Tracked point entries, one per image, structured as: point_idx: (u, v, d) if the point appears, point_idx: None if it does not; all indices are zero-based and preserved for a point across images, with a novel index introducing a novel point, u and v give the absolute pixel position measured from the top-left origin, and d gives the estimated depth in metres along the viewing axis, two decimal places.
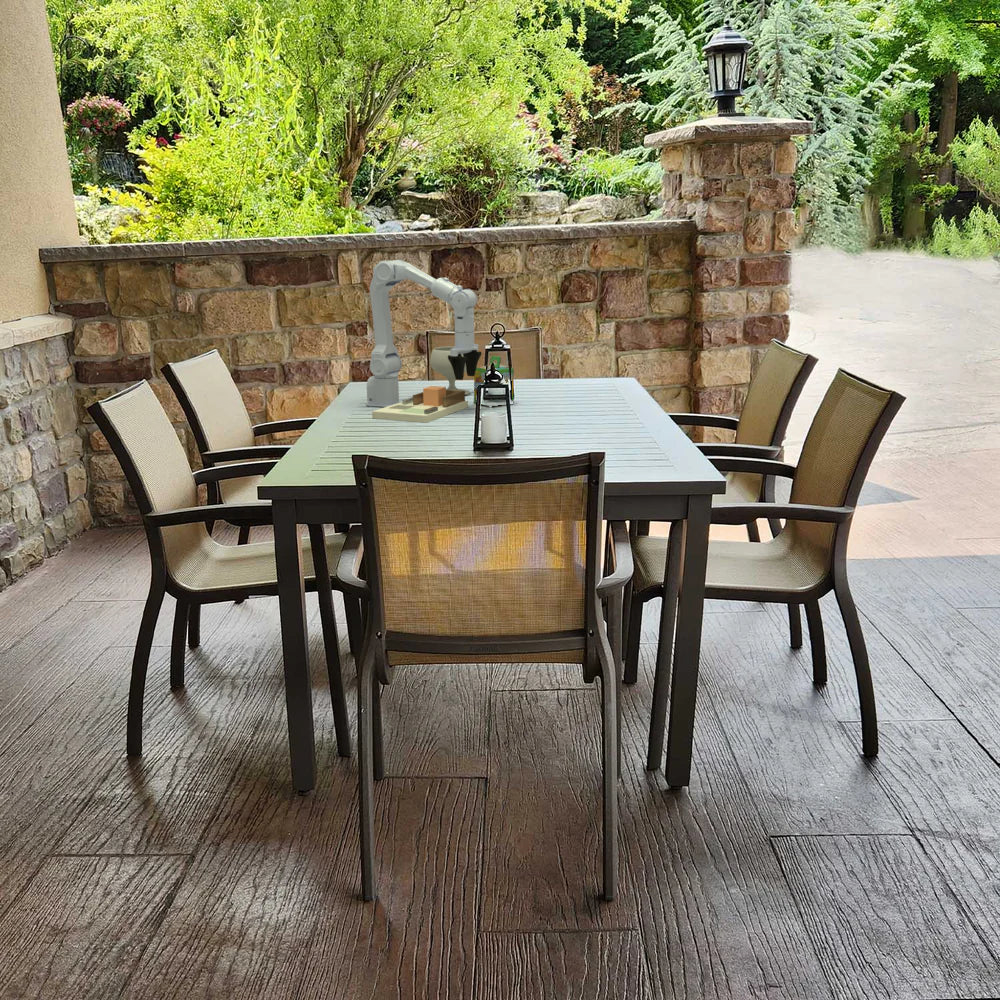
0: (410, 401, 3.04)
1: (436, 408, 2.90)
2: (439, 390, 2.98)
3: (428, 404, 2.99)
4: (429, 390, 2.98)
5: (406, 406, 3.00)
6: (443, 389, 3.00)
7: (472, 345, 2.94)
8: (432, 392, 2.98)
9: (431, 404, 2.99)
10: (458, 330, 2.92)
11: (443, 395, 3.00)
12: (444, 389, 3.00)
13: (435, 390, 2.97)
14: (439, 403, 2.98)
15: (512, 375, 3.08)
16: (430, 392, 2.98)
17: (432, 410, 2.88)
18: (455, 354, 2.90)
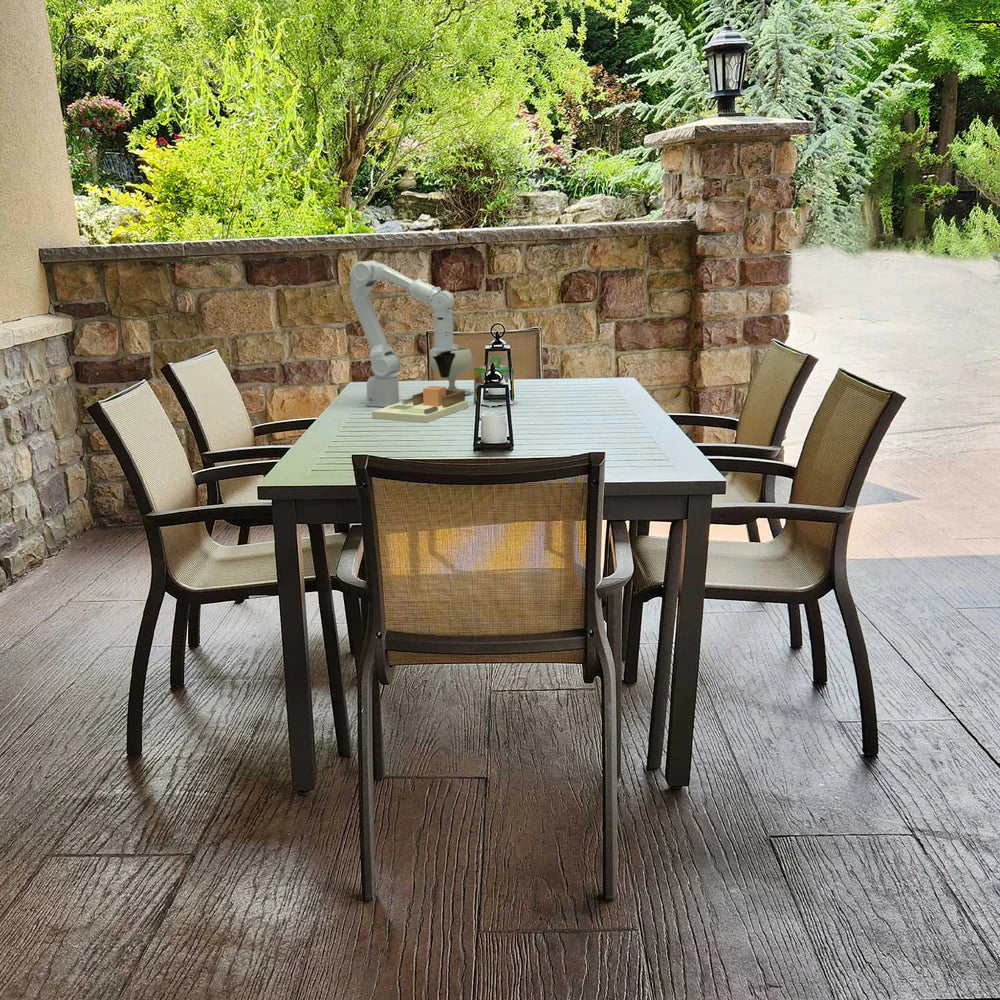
0: (410, 401, 3.04)
1: (436, 408, 2.90)
2: (439, 390, 2.98)
3: (428, 404, 2.99)
4: (429, 390, 2.98)
5: (406, 406, 3.00)
6: (443, 389, 3.00)
7: (451, 345, 3.01)
8: (432, 392, 2.98)
9: (431, 404, 2.99)
10: (438, 331, 2.99)
11: (443, 395, 3.00)
12: (444, 389, 3.00)
13: (435, 390, 2.97)
14: (439, 403, 2.98)
15: (512, 376, 3.08)
16: (430, 392, 2.98)
17: (432, 410, 2.88)
18: (434, 354, 2.96)
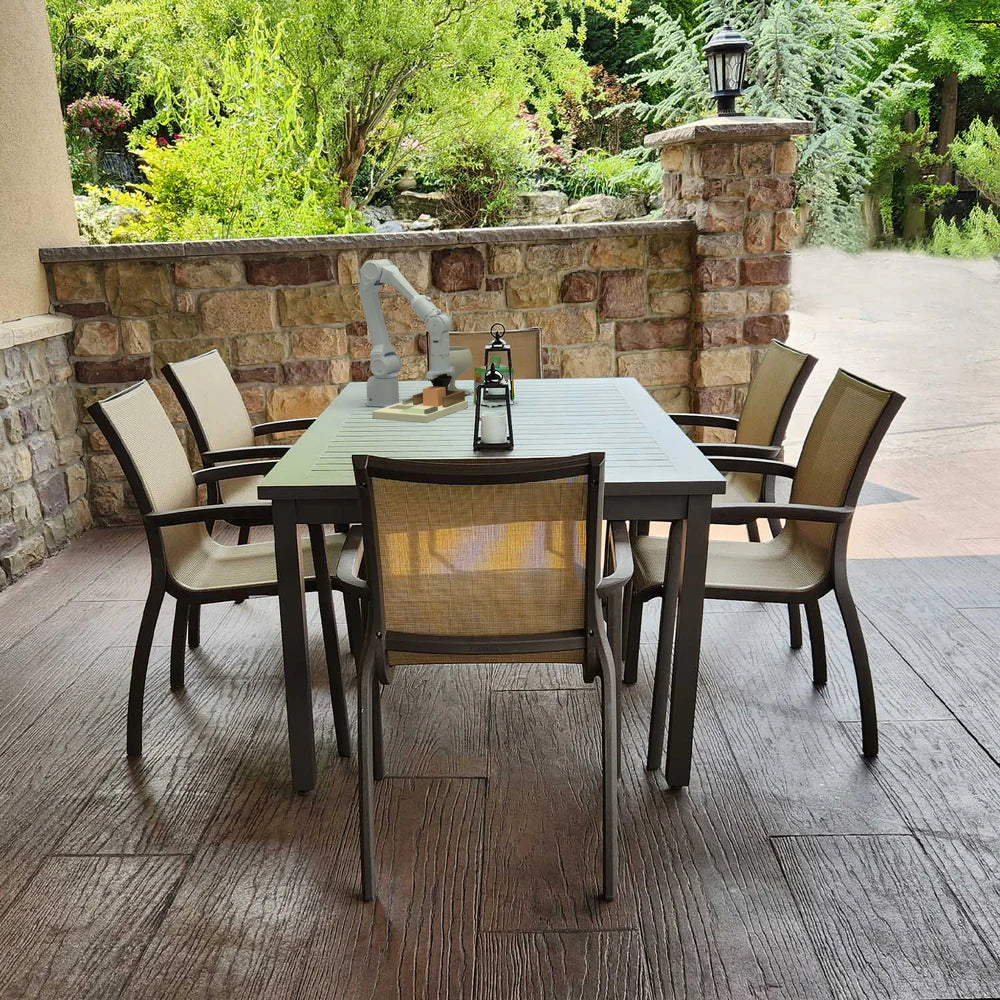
0: (410, 401, 3.04)
1: (436, 408, 2.90)
2: (439, 390, 2.97)
3: (428, 404, 2.99)
4: (429, 390, 2.98)
5: (406, 406, 3.00)
6: (443, 389, 2.99)
7: (448, 368, 3.00)
8: (432, 392, 2.97)
9: (431, 404, 2.98)
10: (434, 354, 2.98)
11: (443, 395, 3.00)
12: (444, 389, 3.00)
13: (435, 390, 2.97)
14: (438, 403, 2.98)
15: (512, 376, 3.08)
16: (430, 392, 2.98)
17: (432, 410, 2.88)
18: (431, 377, 2.96)
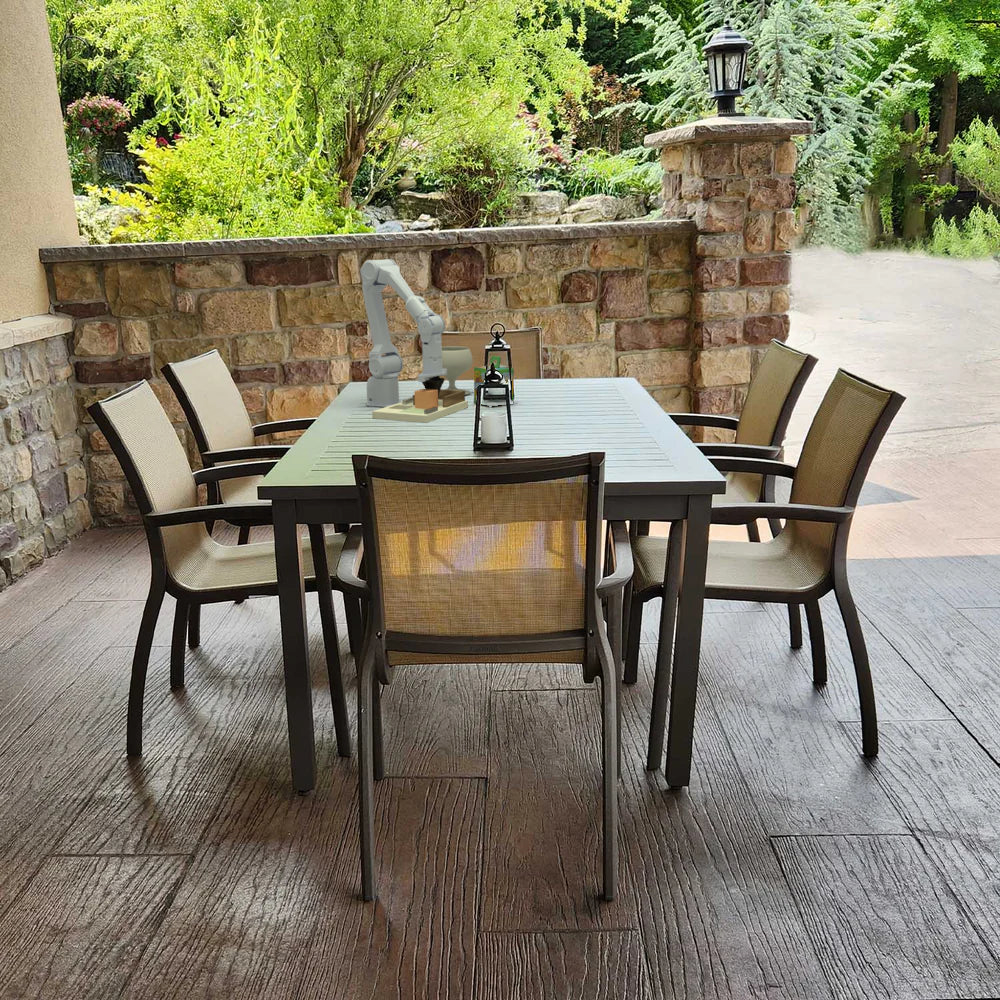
0: (410, 401, 3.04)
1: (436, 408, 2.90)
2: (431, 393, 2.93)
3: (420, 407, 2.95)
4: (421, 393, 2.93)
5: (406, 406, 3.00)
6: (435, 392, 2.95)
7: (440, 370, 2.96)
8: (424, 395, 2.93)
9: (423, 407, 2.94)
10: (424, 355, 2.95)
11: (435, 398, 2.96)
12: (436, 392, 2.96)
13: (427, 393, 2.92)
14: (430, 405, 2.94)
15: (512, 376, 3.08)
16: (422, 395, 2.93)
17: (432, 410, 2.88)
18: (423, 380, 2.92)
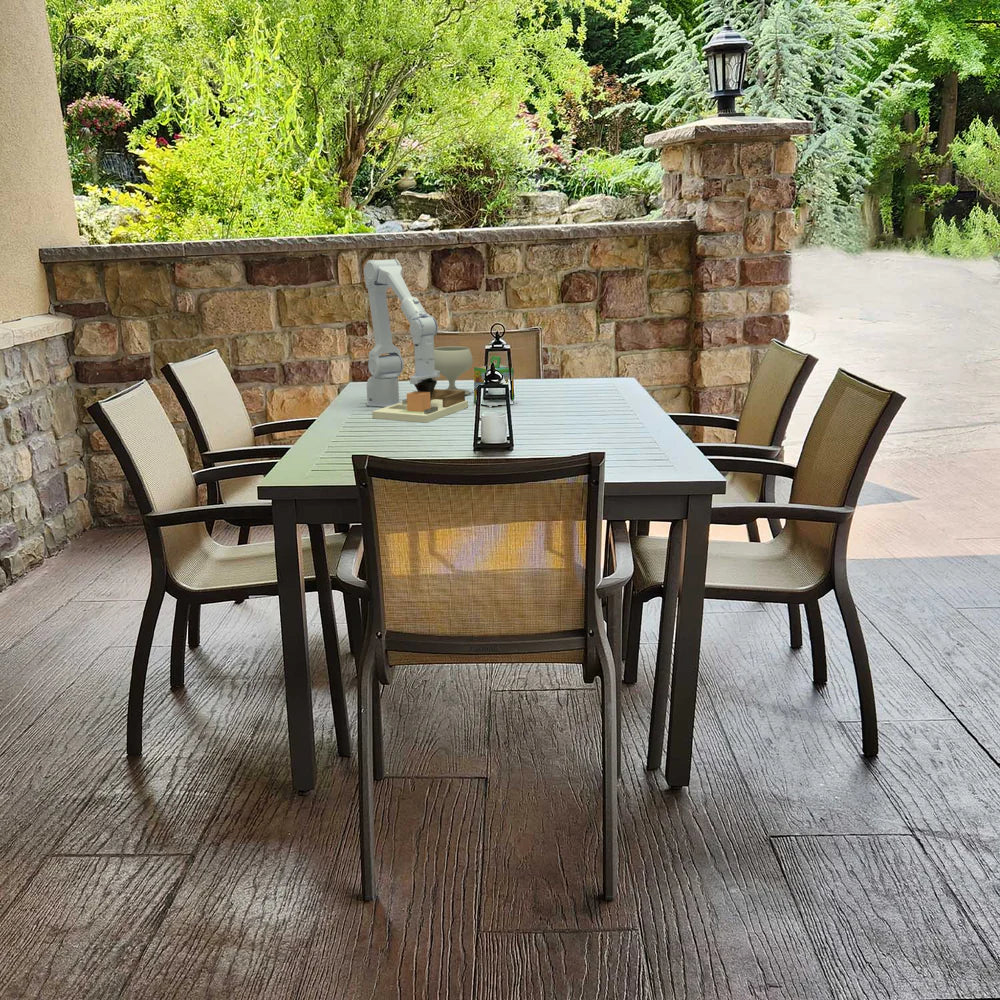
0: None
1: (436, 408, 2.90)
2: (423, 395, 2.89)
3: (412, 410, 2.91)
4: (413, 395, 2.89)
5: (406, 406, 3.00)
6: (427, 394, 2.91)
7: (432, 372, 2.92)
8: (416, 397, 2.89)
9: (415, 410, 2.90)
10: (415, 357, 2.91)
11: (427, 400, 2.92)
12: (428, 394, 2.92)
13: (419, 395, 2.88)
14: (423, 408, 2.90)
15: (512, 376, 3.08)
16: (414, 397, 2.89)
17: (432, 410, 2.88)
18: (415, 382, 2.87)
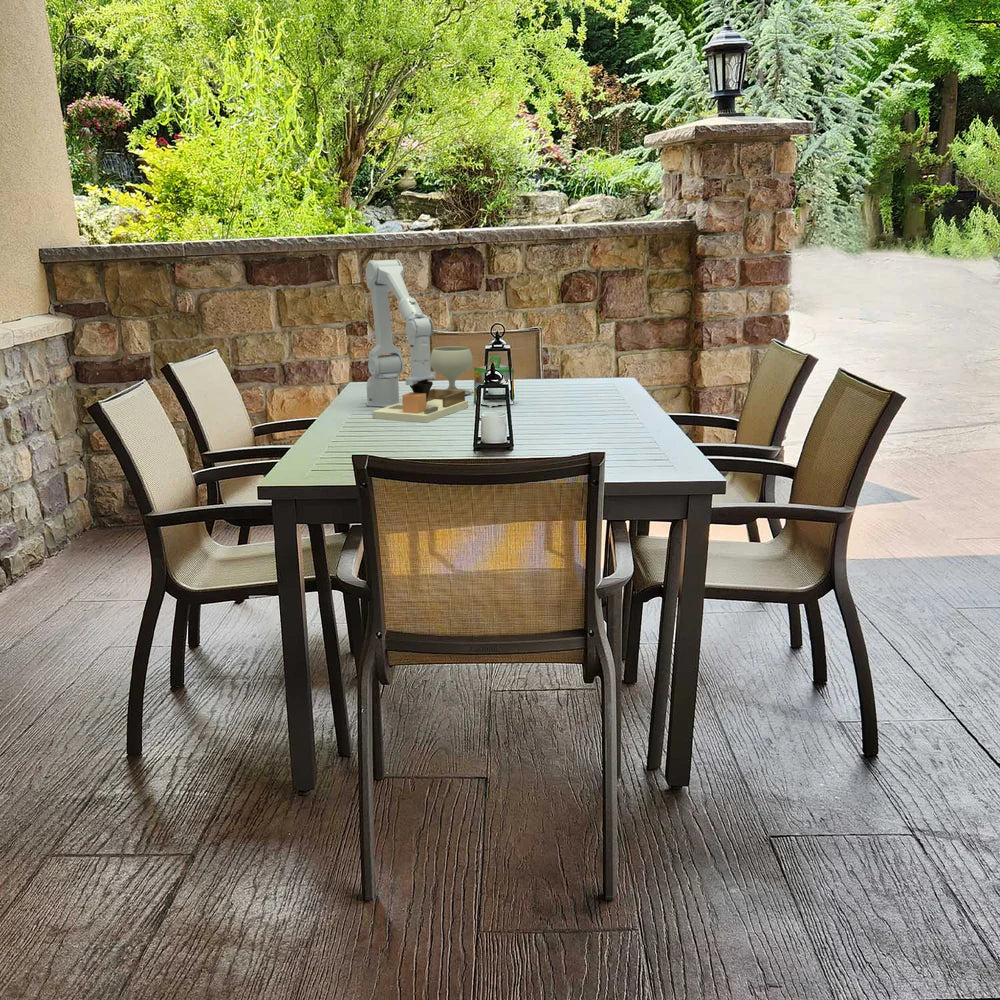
0: None
1: (436, 408, 2.90)
2: (419, 397, 2.87)
3: (407, 411, 2.89)
4: (408, 397, 2.87)
5: None
6: (423, 395, 2.89)
7: (428, 374, 2.90)
8: (411, 399, 2.87)
9: (411, 411, 2.88)
10: (411, 358, 2.89)
11: (423, 402, 2.89)
12: (424, 395, 2.90)
13: (415, 397, 2.86)
14: (418, 410, 2.87)
15: (512, 376, 3.08)
16: (409, 399, 2.87)
17: (432, 410, 2.88)
18: (410, 383, 2.85)
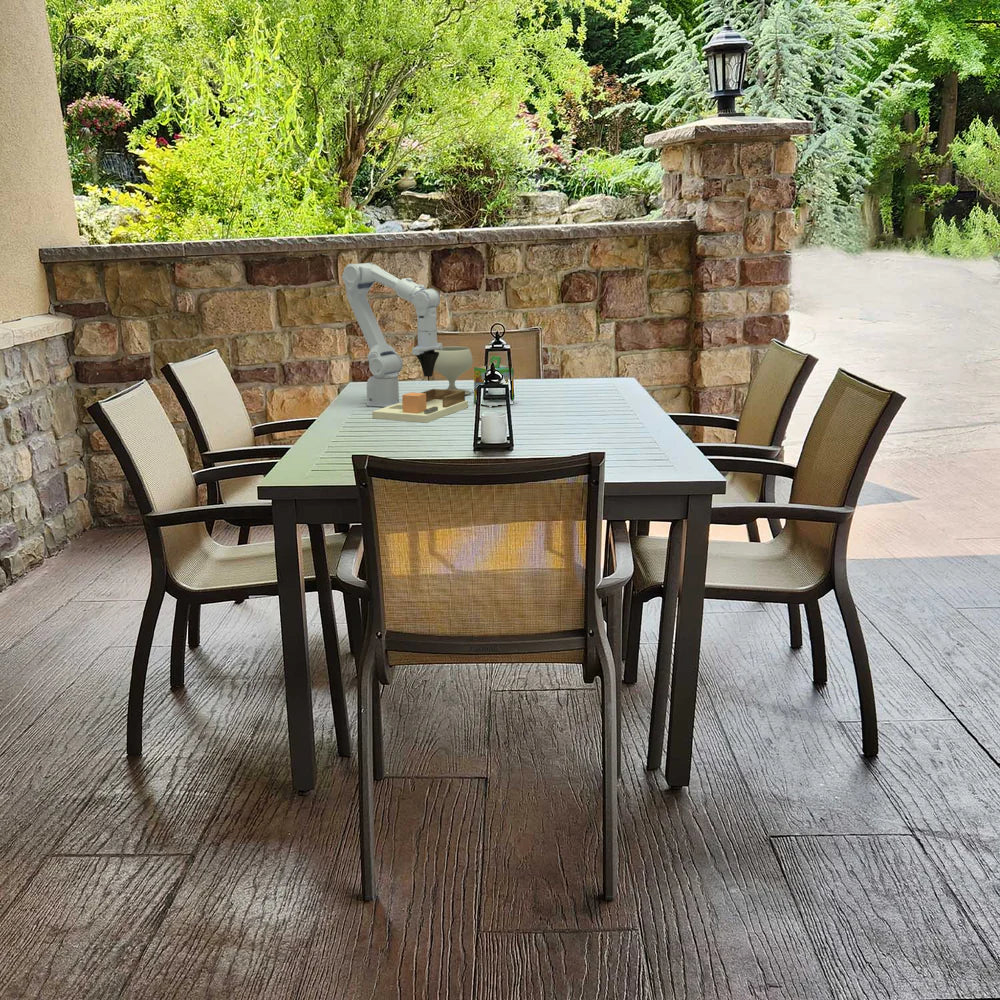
0: None
1: (436, 408, 2.90)
2: (419, 397, 2.87)
3: (407, 411, 2.89)
4: (408, 397, 2.87)
5: None
6: (423, 395, 2.89)
7: (434, 344, 2.97)
8: (411, 399, 2.87)
9: (410, 411, 2.88)
10: (420, 329, 2.95)
11: (423, 402, 2.89)
12: (424, 395, 2.90)
13: (414, 397, 2.86)
14: (418, 410, 2.87)
15: (512, 376, 3.08)
16: (409, 399, 2.87)
17: (432, 410, 2.88)
18: (417, 353, 2.93)
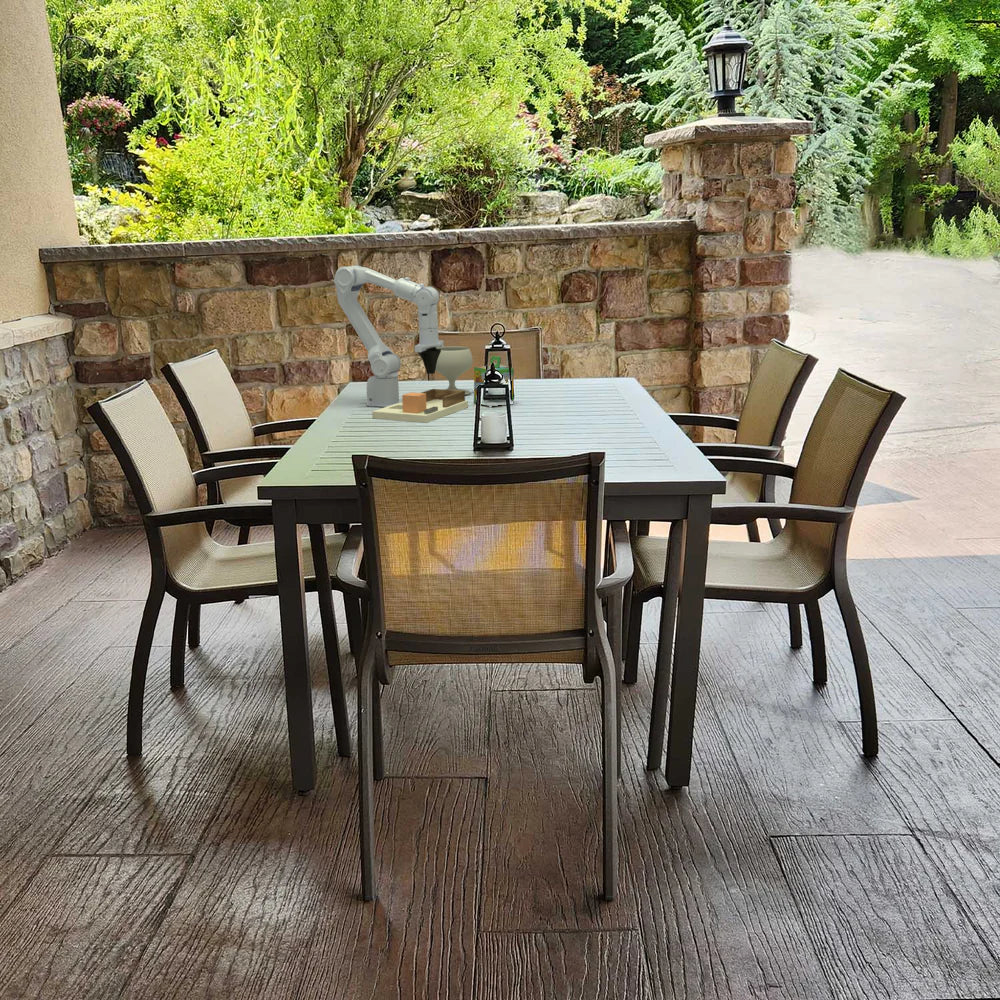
0: None
1: (436, 408, 2.90)
2: (419, 397, 2.87)
3: (407, 411, 2.89)
4: (408, 397, 2.87)
5: None
6: (423, 395, 2.89)
7: (436, 341, 3.01)
8: (411, 399, 2.87)
9: (410, 411, 2.88)
10: (423, 327, 2.99)
11: (423, 402, 2.89)
12: (424, 395, 2.90)
13: (414, 397, 2.86)
14: (418, 410, 2.87)
15: (512, 376, 3.08)
16: (409, 399, 2.87)
17: (432, 410, 2.88)
18: (419, 350, 2.96)
